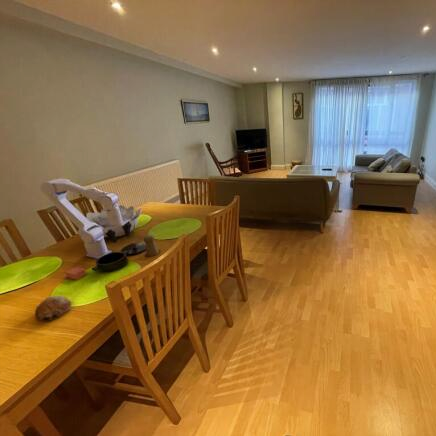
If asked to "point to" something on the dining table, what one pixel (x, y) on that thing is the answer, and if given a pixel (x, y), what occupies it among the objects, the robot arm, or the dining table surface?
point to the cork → (150, 245)
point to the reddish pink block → (76, 273)
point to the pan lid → (134, 248)
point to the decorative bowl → (125, 214)
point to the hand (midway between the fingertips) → (121, 239)
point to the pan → (111, 262)
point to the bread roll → (52, 308)
